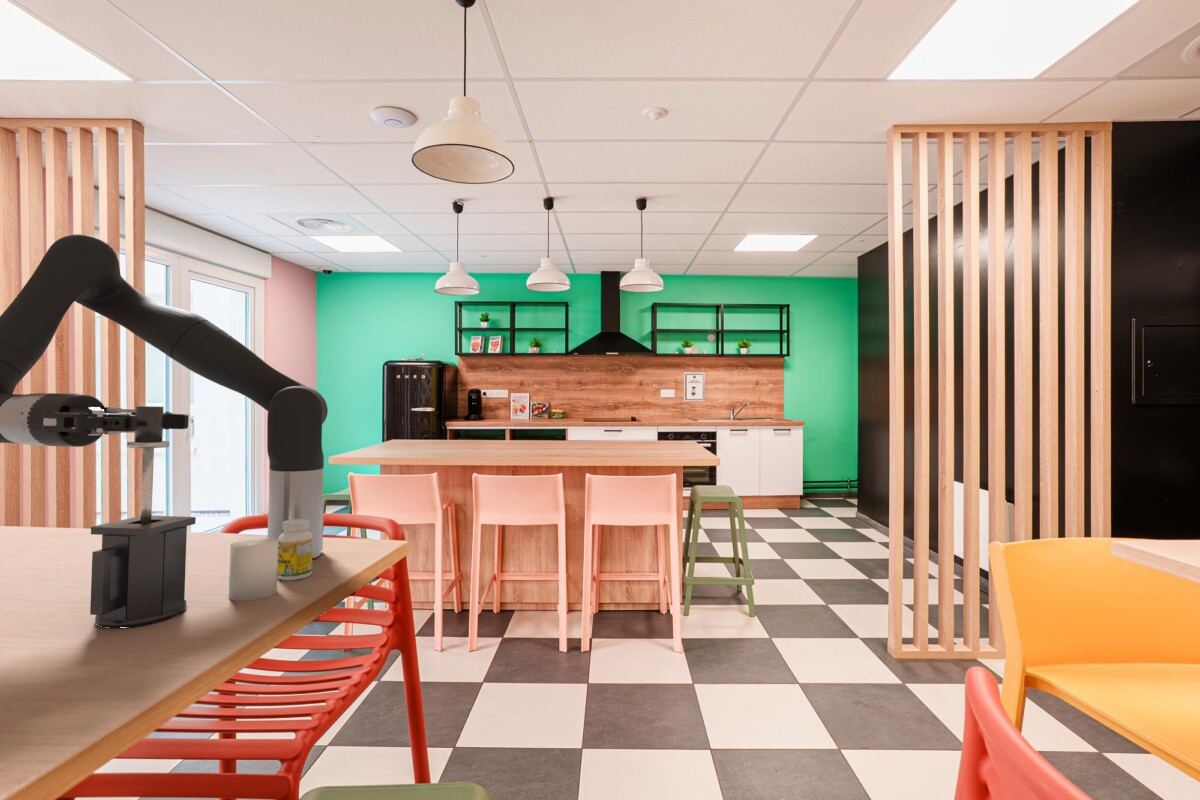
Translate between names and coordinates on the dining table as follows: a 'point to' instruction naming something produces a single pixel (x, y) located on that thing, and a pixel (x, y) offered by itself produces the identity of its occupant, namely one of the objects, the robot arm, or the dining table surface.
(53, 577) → the dining table surface
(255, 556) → the white rounded cylinder
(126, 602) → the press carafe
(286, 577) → the supplement bottle
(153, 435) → the plunger
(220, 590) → the dining table surface
